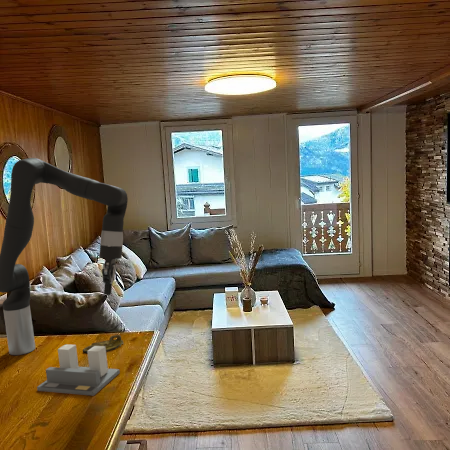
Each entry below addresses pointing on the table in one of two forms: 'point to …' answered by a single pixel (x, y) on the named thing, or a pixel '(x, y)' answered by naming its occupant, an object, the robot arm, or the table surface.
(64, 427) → the table surface
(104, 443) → the table surface
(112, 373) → the plate
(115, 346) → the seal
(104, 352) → the tall white pillar block
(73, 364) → the white rectangular block
